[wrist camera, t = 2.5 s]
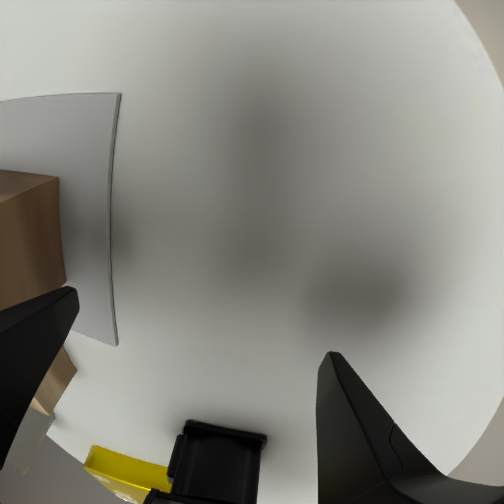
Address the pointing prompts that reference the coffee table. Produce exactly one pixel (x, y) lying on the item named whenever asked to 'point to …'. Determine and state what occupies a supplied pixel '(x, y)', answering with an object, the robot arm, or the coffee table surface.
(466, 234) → the coffee table surface
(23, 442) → the cup
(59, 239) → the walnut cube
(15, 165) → the rubber mat
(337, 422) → the robot arm
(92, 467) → the element tile
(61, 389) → the oak block
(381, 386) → the coffee table surface
